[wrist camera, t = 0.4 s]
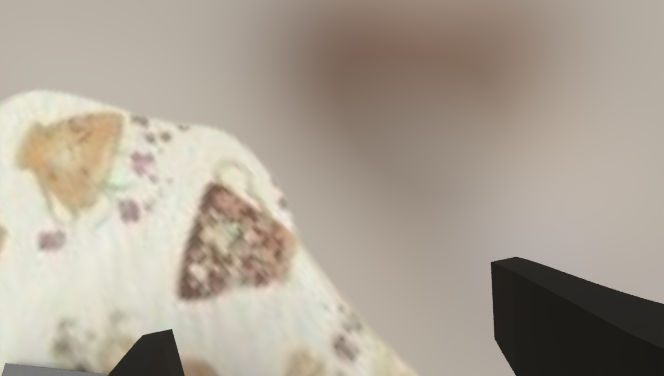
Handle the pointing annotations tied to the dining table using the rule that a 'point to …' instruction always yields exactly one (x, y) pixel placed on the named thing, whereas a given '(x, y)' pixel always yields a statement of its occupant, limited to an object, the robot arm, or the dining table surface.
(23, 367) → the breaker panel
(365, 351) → the dining table surface
